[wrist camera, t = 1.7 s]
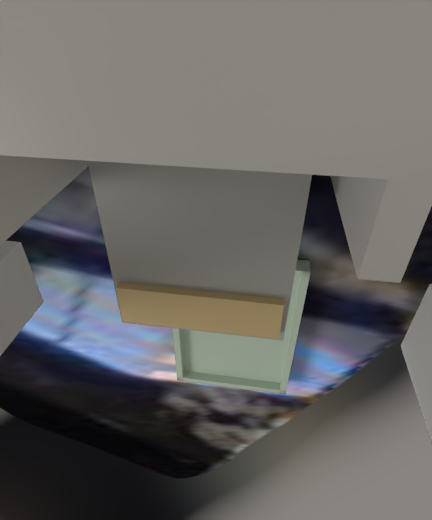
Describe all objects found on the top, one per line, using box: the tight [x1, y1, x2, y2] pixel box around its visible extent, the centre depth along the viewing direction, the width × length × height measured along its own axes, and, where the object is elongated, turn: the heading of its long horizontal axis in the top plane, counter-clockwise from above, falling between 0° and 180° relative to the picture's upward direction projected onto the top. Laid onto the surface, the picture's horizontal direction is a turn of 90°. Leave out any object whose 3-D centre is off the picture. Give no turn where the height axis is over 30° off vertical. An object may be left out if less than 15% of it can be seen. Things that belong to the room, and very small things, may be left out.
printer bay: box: [0, 0, 432, 283], centre depth 11 cm, size 11×7×15 cm, turn 90°
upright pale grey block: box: [87, 161, 312, 341], centre depth 14 cm, size 6×10×11 cm, turn 0°
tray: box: [172, 260, 311, 394], centre depth 28 cm, size 10×14×1 cm
